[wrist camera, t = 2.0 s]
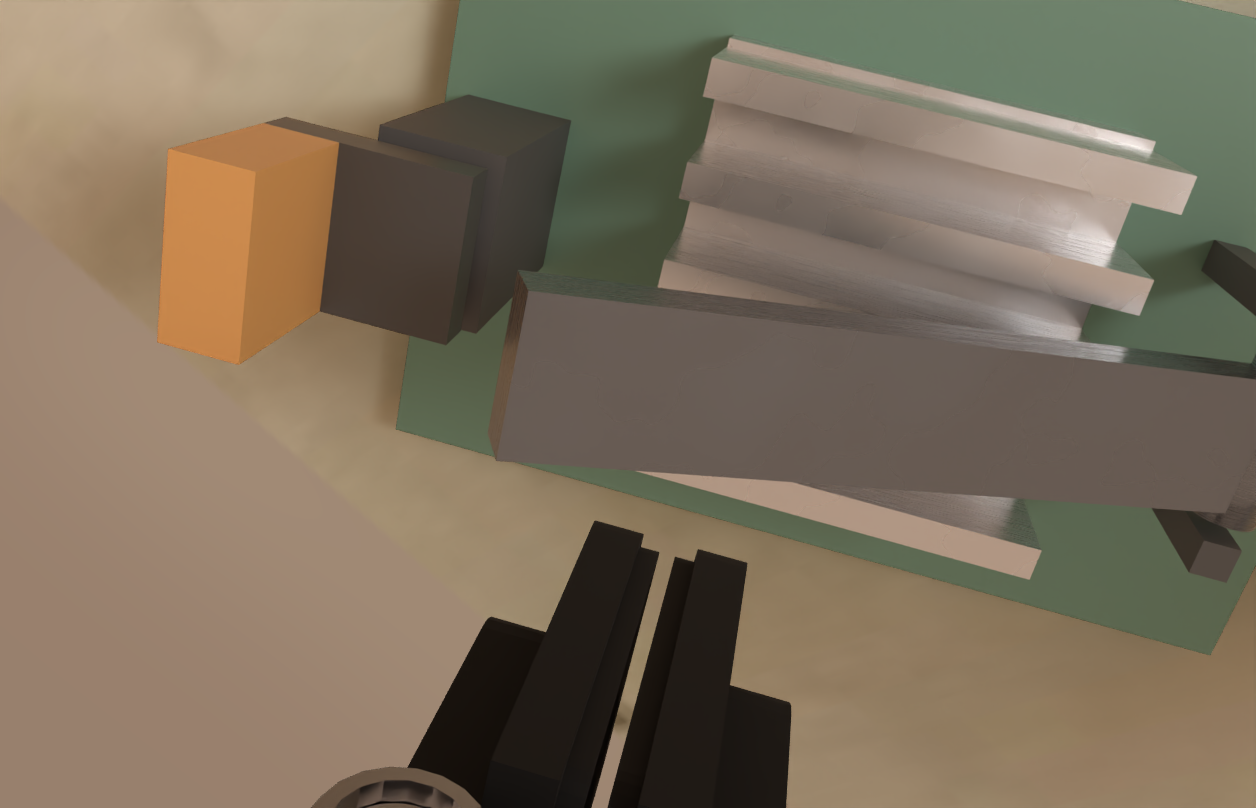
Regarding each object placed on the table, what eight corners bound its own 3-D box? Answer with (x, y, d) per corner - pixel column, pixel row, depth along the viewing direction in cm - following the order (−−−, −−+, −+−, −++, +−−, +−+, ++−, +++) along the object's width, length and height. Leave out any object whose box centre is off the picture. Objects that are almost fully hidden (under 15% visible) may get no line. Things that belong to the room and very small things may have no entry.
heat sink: (1139, 132, 27) (1201, 166, 23) (998, 495, 31) (1026, 586, 26) (734, 34, 28) (714, 47, 23) (646, 399, 32) (613, 472, 27)
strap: (1293, 352, 24) (1347, 379, 23) (1222, 500, 25) (1269, 533, 24) (518, 248, 18) (534, 276, 17) (483, 443, 20) (495, 482, 19)
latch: (488, 169, 23) (411, 212, 19) (460, 331, 25) (383, 404, 20) (286, 117, 24) (168, 148, 19) (270, 279, 25) (157, 342, 21)
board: (1468, 70, 27) (1698, 107, 20) (1194, 626, 33) (1293, 809, 26) (501, -156, 29) (388, -197, 21) (413, 411, 35) (302, 526, 28)
